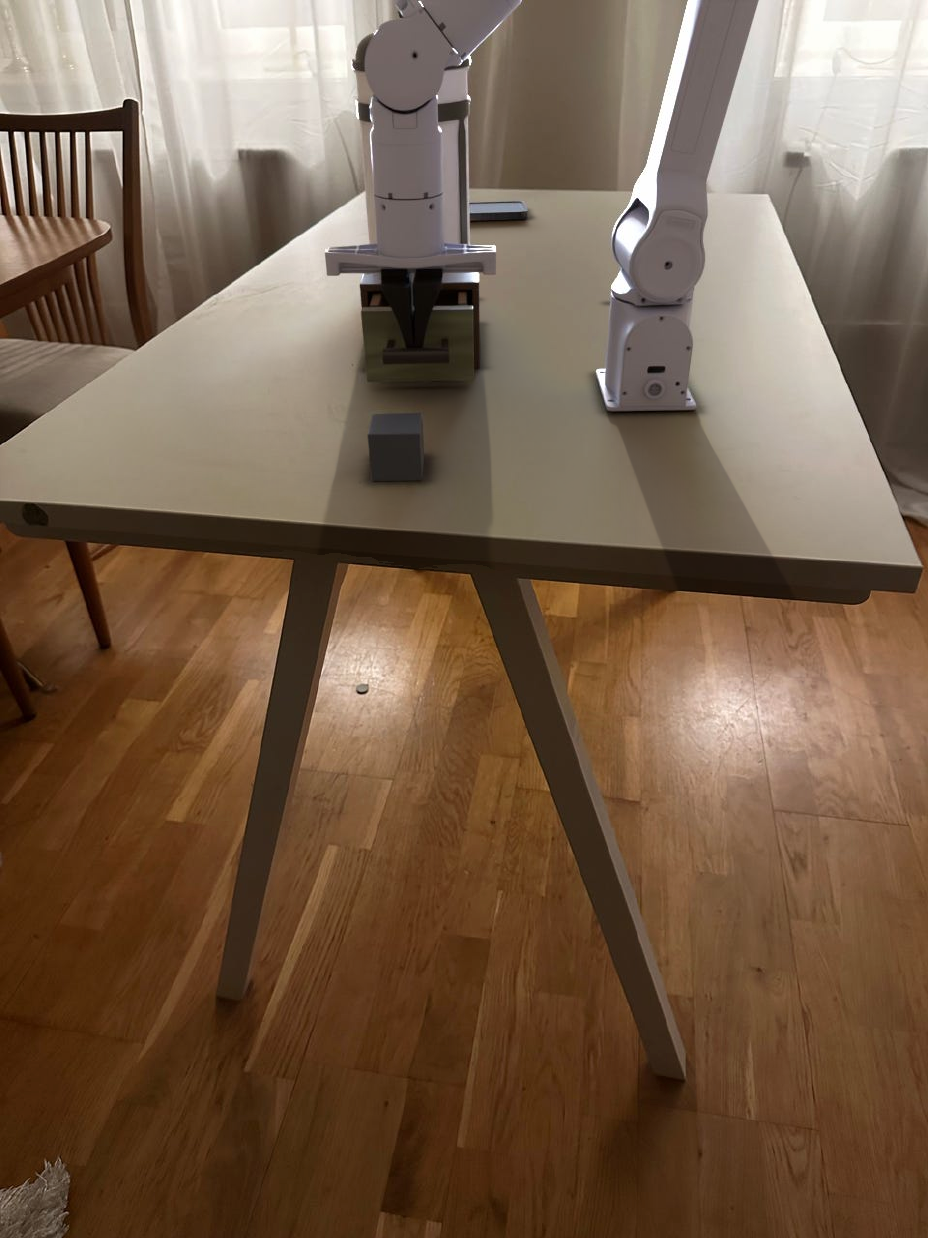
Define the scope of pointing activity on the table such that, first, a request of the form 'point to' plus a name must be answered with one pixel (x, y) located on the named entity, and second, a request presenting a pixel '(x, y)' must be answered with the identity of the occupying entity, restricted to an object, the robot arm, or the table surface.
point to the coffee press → (454, 145)
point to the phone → (497, 210)
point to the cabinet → (449, 282)
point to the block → (396, 447)
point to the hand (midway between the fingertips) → (415, 354)
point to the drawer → (443, 342)
